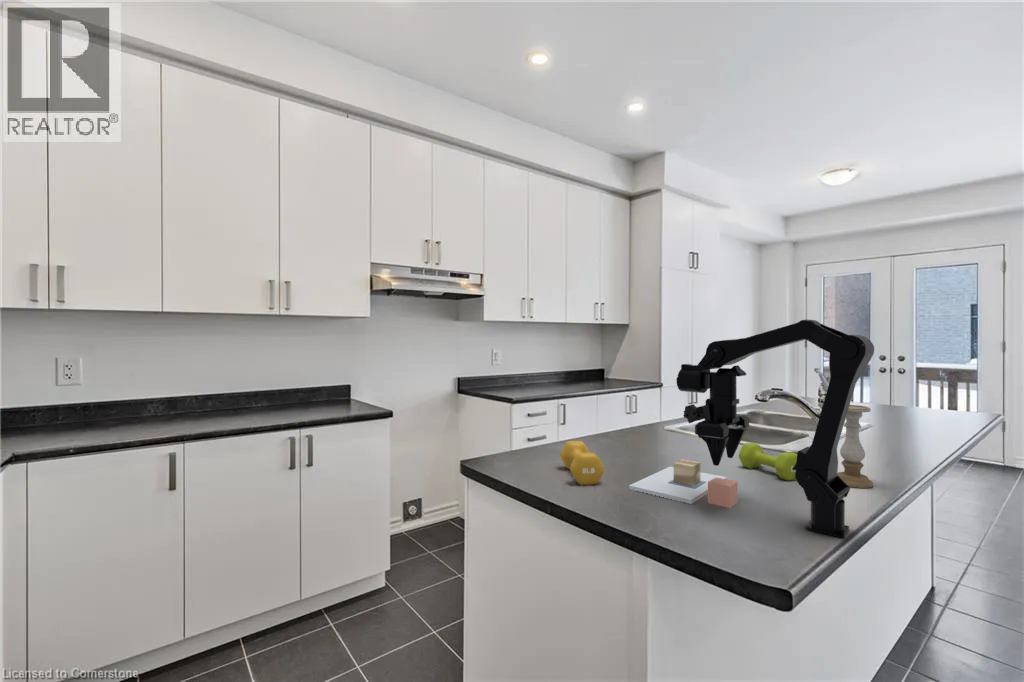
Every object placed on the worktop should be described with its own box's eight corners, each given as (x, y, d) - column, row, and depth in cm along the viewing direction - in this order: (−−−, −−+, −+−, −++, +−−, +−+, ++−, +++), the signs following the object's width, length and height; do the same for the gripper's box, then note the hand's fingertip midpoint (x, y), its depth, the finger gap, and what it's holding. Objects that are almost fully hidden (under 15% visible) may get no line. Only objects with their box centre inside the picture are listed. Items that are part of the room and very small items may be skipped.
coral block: (730, 508, 108) (730, 486, 108) (707, 503, 111) (707, 482, 111) (737, 502, 112) (737, 481, 112) (715, 498, 115) (715, 477, 115)
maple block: (692, 486, 120) (692, 466, 120) (673, 482, 123) (673, 462, 123) (700, 481, 124) (700, 462, 124) (681, 478, 127) (681, 459, 127)
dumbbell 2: (806, 479, 130) (806, 453, 129) (784, 483, 127) (784, 456, 127) (756, 464, 145) (756, 441, 145) (735, 467, 142) (735, 443, 142)
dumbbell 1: (559, 467, 143) (558, 440, 143) (588, 466, 144) (588, 439, 143) (571, 487, 124) (571, 455, 124) (605, 486, 125) (605, 455, 125)
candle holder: (825, 481, 128) (825, 405, 128) (843, 476, 132) (844, 403, 132) (861, 490, 120) (861, 409, 120) (880, 485, 124) (880, 407, 124)
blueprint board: (691, 504, 111) (691, 499, 111) (629, 489, 121) (629, 484, 121) (727, 481, 128) (727, 476, 128) (670, 469, 139) (670, 465, 139)
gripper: (703, 389, 124) (703, 449, 124) (672, 395, 110) (672, 463, 110) (749, 392, 116) (749, 456, 116) (722, 399, 102) (722, 472, 103)
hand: (723, 461), depth 111 cm, fingers open, 9 cm apart
